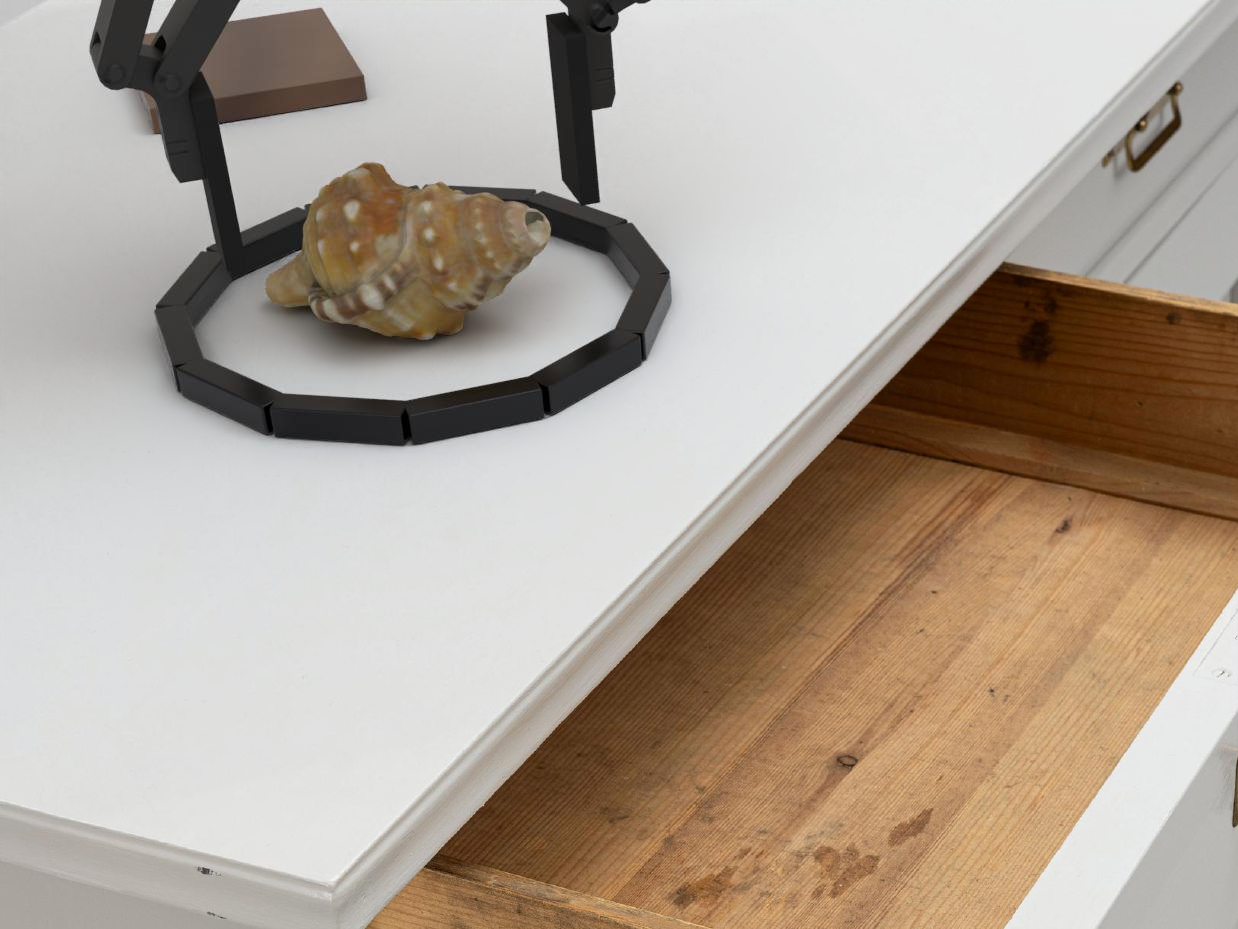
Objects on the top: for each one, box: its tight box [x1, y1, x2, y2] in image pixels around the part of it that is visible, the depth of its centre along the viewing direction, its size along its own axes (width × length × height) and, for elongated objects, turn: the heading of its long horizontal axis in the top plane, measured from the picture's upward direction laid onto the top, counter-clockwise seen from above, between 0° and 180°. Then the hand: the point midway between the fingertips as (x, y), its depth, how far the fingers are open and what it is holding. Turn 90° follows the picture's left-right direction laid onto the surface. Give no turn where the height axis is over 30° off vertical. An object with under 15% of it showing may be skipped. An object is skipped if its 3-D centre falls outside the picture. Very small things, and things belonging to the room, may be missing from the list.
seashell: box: [264, 161, 551, 341], centre depth 84 cm, size 9×8×10 cm
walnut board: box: [137, 7, 368, 134], centre depth 106 cm, size 10×10×1 cm
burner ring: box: [153, 184, 673, 446], centre depth 86 cm, size 19×19×1 cm
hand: (409, 224), depth 84 cm, fingers open, 13 cm apart
